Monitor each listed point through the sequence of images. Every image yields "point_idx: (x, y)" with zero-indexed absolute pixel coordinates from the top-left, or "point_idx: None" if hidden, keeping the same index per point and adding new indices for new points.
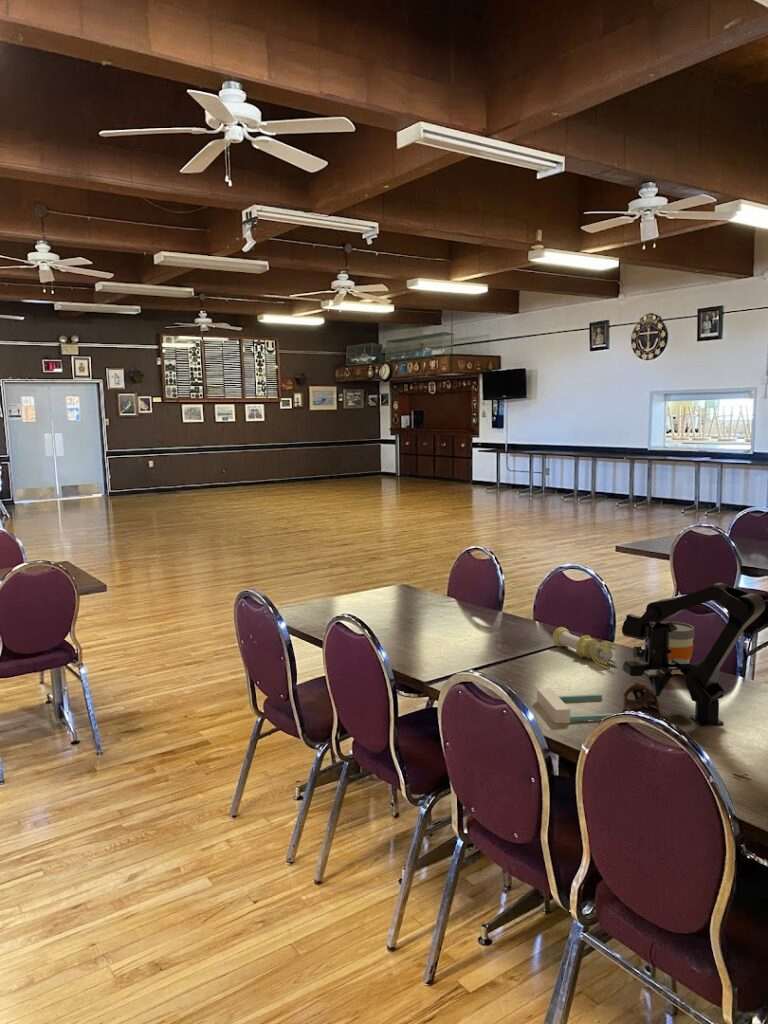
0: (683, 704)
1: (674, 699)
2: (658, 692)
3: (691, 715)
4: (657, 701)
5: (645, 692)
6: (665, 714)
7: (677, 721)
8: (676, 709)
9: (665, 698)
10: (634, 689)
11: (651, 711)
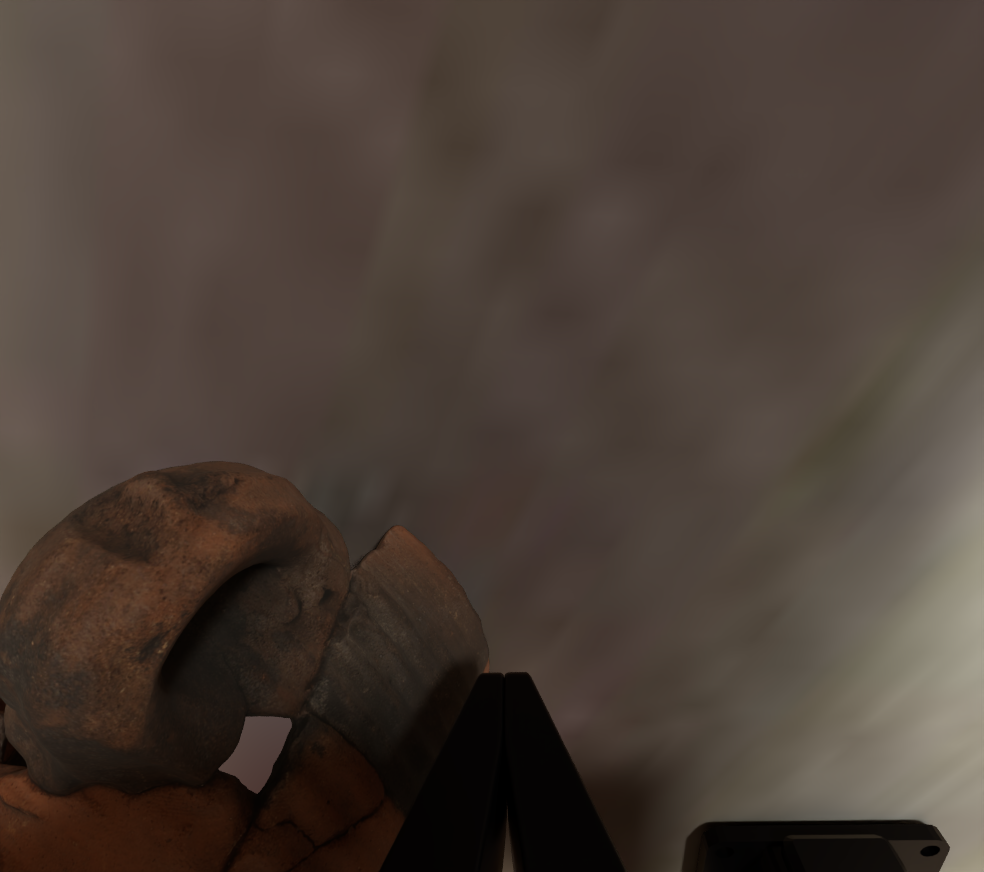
0: (902, 542)
1: (926, 353)
2: (504, 815)
3: (726, 844)
4: None
5: (292, 716)
6: None
7: None
8: (698, 664)
9: (810, 295)
10: (15, 808)
11: None
